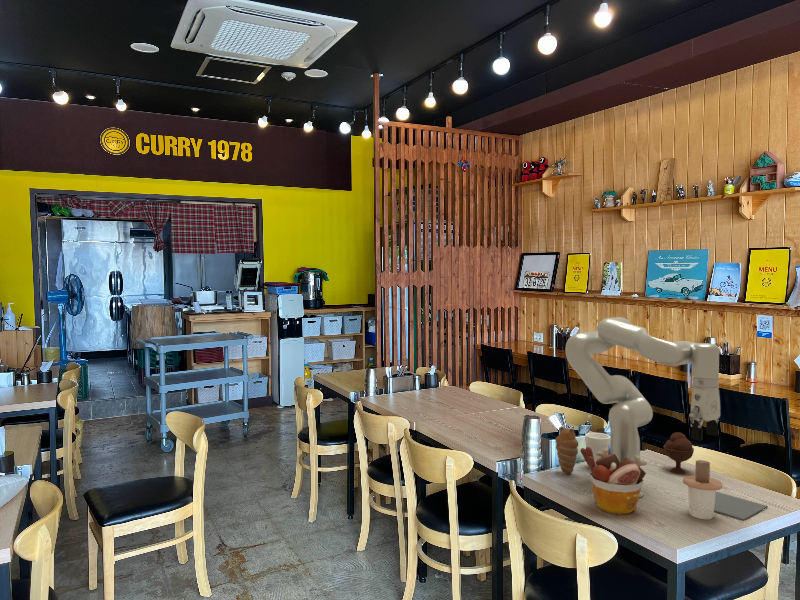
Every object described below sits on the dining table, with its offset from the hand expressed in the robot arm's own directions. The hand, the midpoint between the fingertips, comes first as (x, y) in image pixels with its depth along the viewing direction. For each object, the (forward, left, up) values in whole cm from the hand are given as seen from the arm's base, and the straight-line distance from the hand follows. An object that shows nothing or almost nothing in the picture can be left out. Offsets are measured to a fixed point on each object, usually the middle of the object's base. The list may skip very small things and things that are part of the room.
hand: (704, 437), depth 185 cm
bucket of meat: (-17, +20, -25) cm, 37 cm away
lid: (0, 0, -15) cm, 15 cm away
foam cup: (+14, +47, -25) cm, 55 cm away
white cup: (0, 0, -25) cm, 25 cm away
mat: (+15, -2, -25) cm, 29 cm away
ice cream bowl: (+36, +26, -25) cm, 51 cm away
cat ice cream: (-1, +50, -25) cm, 56 cm away
